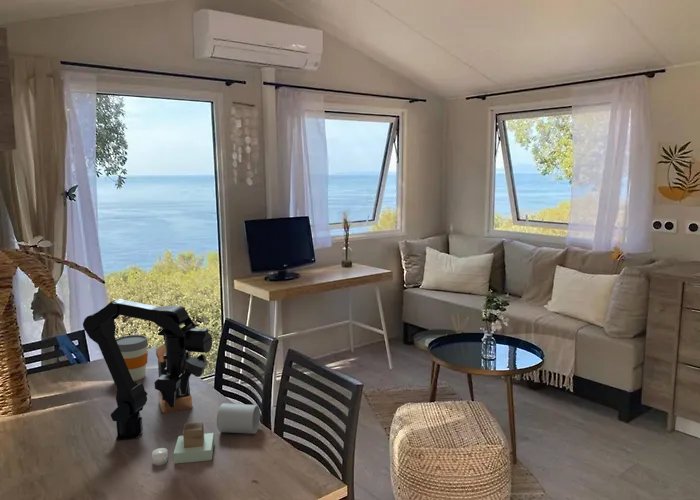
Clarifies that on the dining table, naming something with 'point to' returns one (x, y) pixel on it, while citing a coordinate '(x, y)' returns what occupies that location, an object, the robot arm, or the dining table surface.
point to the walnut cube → (193, 434)
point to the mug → (238, 418)
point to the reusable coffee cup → (134, 354)
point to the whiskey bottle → (181, 399)
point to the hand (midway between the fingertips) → (178, 400)
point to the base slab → (194, 450)
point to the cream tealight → (160, 456)
